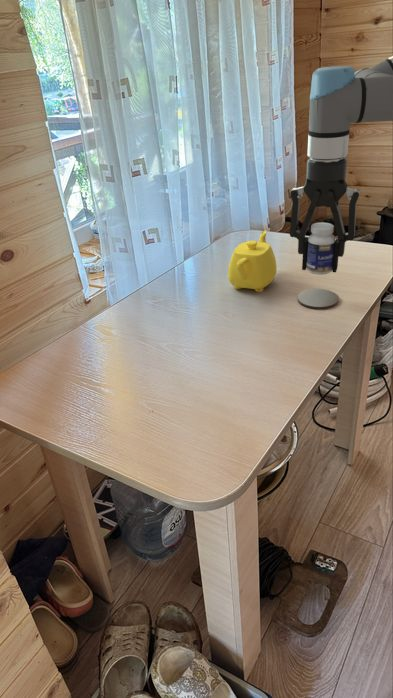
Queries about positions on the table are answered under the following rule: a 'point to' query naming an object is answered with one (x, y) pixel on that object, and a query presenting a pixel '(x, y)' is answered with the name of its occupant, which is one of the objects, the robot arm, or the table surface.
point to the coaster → (318, 299)
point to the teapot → (252, 265)
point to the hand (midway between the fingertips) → (319, 268)
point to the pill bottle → (320, 249)
